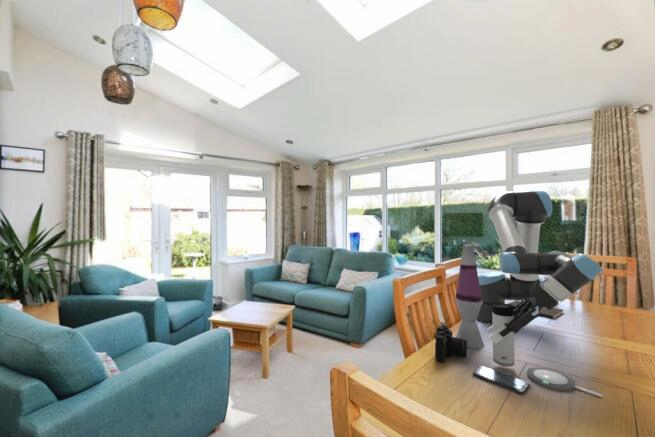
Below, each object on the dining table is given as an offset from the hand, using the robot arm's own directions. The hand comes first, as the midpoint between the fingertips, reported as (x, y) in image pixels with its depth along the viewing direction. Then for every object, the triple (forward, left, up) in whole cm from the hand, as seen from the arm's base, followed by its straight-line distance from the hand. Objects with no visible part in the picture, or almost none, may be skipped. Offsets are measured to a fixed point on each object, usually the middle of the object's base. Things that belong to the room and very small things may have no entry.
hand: (491, 335), depth 101 cm
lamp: (-14, +13, -11) cm, 22 cm away
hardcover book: (-10, +81, -11) cm, 83 cm away
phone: (+5, -8, -10) cm, 14 cm away
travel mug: (+3, +2, -9) cm, 9 cm away
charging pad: (+18, +4, -10) cm, 21 cm away
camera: (-13, -4, -11) cm, 17 cm away
